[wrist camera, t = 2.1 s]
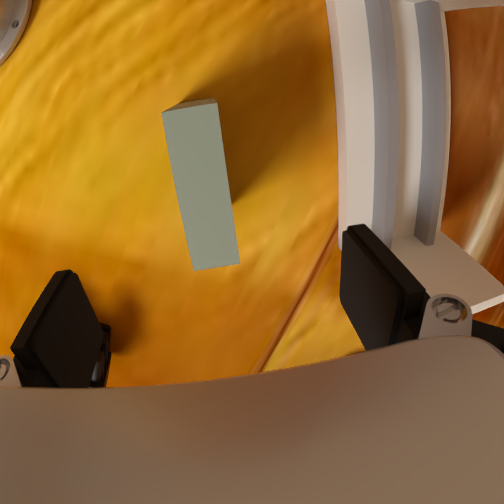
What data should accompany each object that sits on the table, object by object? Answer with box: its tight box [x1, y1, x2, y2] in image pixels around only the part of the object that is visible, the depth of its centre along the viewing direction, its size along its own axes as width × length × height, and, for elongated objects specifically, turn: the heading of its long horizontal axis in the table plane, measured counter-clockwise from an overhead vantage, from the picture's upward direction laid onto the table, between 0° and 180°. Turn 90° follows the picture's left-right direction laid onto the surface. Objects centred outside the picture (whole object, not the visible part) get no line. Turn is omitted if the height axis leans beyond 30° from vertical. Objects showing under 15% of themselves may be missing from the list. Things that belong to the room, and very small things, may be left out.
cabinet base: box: [326, 0, 504, 314], centre depth 21 cm, size 26×12×14 cm, turn 6°
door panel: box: [162, 98, 240, 271], centre depth 22 cm, size 10×3×10 cm, turn 6°
